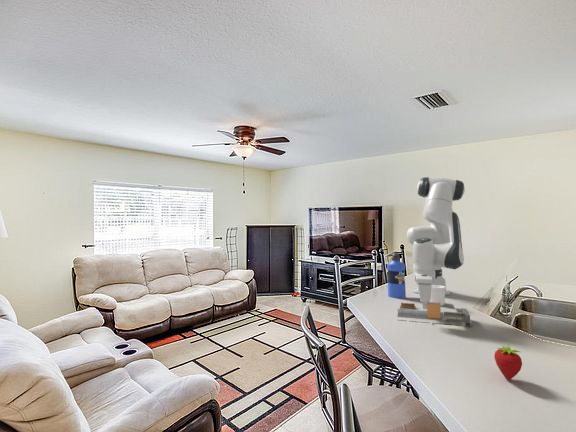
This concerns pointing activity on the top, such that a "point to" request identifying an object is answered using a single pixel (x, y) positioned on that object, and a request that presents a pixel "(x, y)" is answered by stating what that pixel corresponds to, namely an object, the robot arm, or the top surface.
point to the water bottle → (396, 277)
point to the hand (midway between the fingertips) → (425, 308)
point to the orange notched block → (433, 310)
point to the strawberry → (508, 362)
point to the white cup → (438, 294)
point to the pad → (408, 306)
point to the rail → (447, 316)
